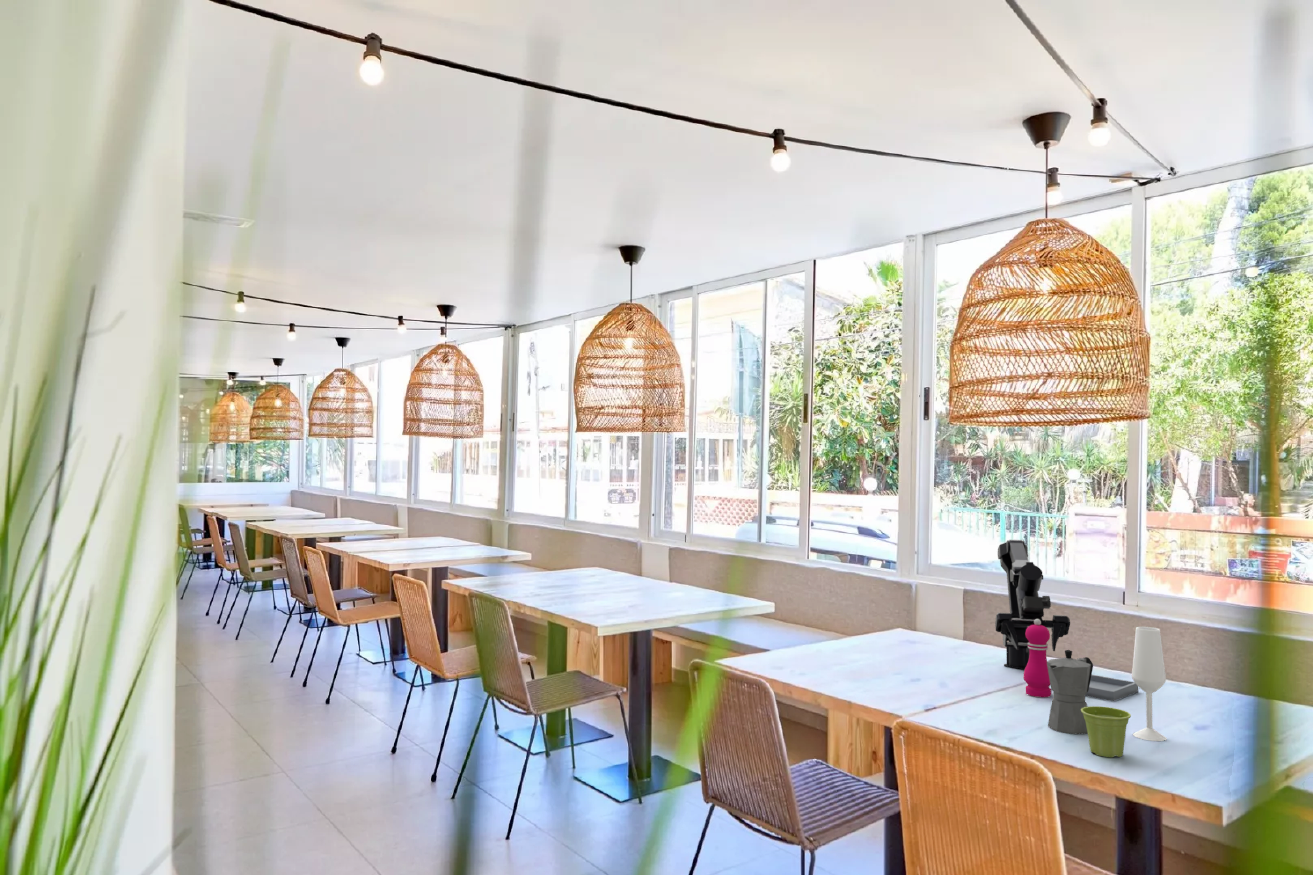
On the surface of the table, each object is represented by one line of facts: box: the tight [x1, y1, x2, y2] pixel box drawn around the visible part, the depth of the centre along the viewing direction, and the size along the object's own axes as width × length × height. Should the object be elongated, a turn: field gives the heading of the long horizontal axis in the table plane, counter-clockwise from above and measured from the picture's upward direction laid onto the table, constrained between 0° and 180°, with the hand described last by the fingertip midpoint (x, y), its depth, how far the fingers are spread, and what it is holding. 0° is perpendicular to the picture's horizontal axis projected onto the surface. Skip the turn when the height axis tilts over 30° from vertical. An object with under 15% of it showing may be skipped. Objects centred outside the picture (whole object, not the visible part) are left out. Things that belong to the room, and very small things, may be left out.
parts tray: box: [1085, 674, 1139, 702], centre depth 237 cm, size 16×16×2 cm
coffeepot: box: [1047, 649, 1094, 735], centre depth 202 cm, size 15×9×18 cm, turn 121°
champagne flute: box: [1131, 626, 1168, 742], centre depth 196 cm, size 7×7×24 cm
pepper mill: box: [1023, 619, 1052, 698], centre depth 233 cm, size 7×7×20 cm
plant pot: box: [1081, 705, 1132, 758], centre depth 184 cm, size 9×9×9 cm
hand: (1035, 649), depth 236 cm, fingers open, 9 cm apart
